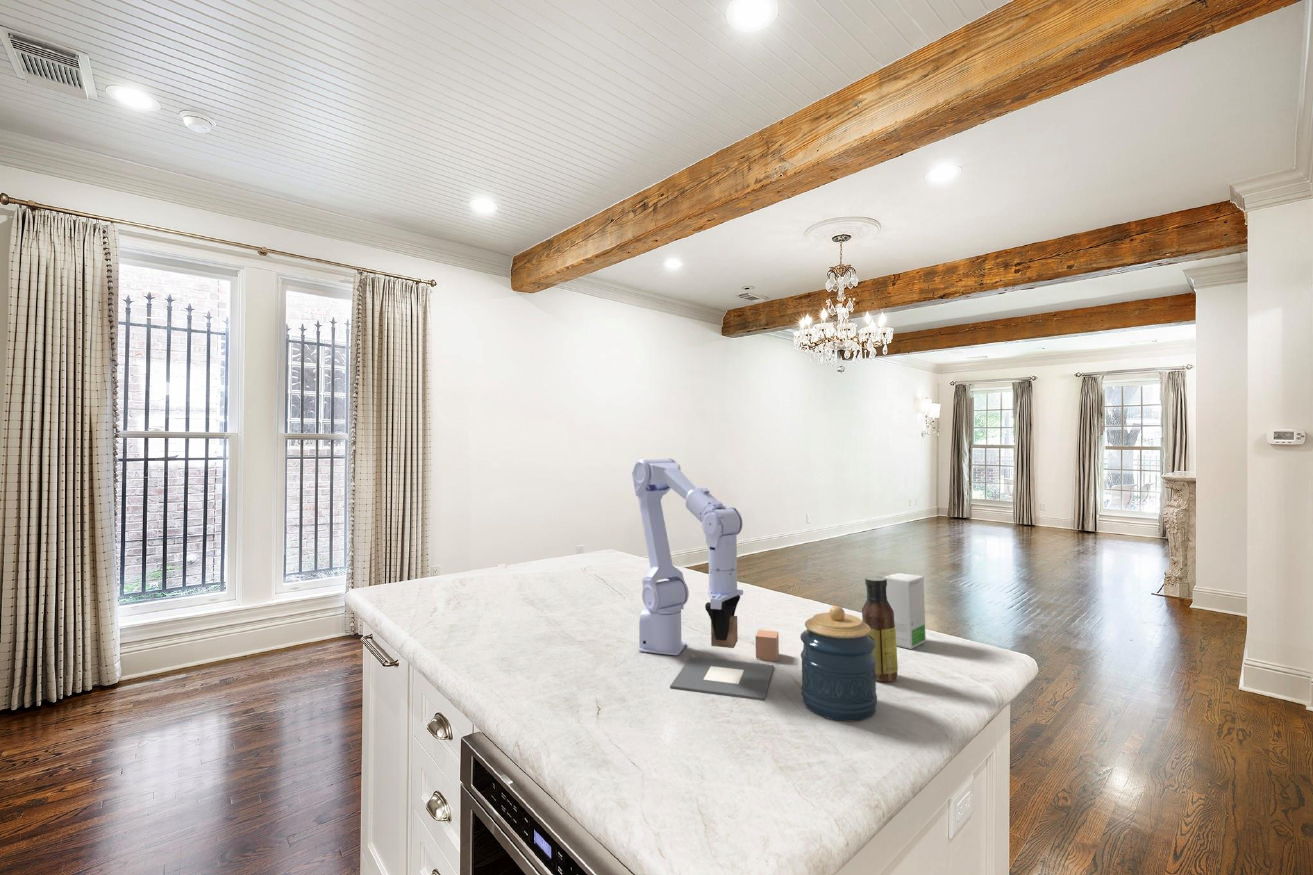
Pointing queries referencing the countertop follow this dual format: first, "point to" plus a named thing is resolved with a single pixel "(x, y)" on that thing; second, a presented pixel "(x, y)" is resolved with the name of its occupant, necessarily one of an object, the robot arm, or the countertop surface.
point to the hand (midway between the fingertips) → (723, 635)
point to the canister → (838, 666)
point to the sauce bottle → (881, 628)
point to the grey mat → (724, 677)
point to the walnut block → (731, 637)
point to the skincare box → (907, 608)
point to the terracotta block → (767, 645)
